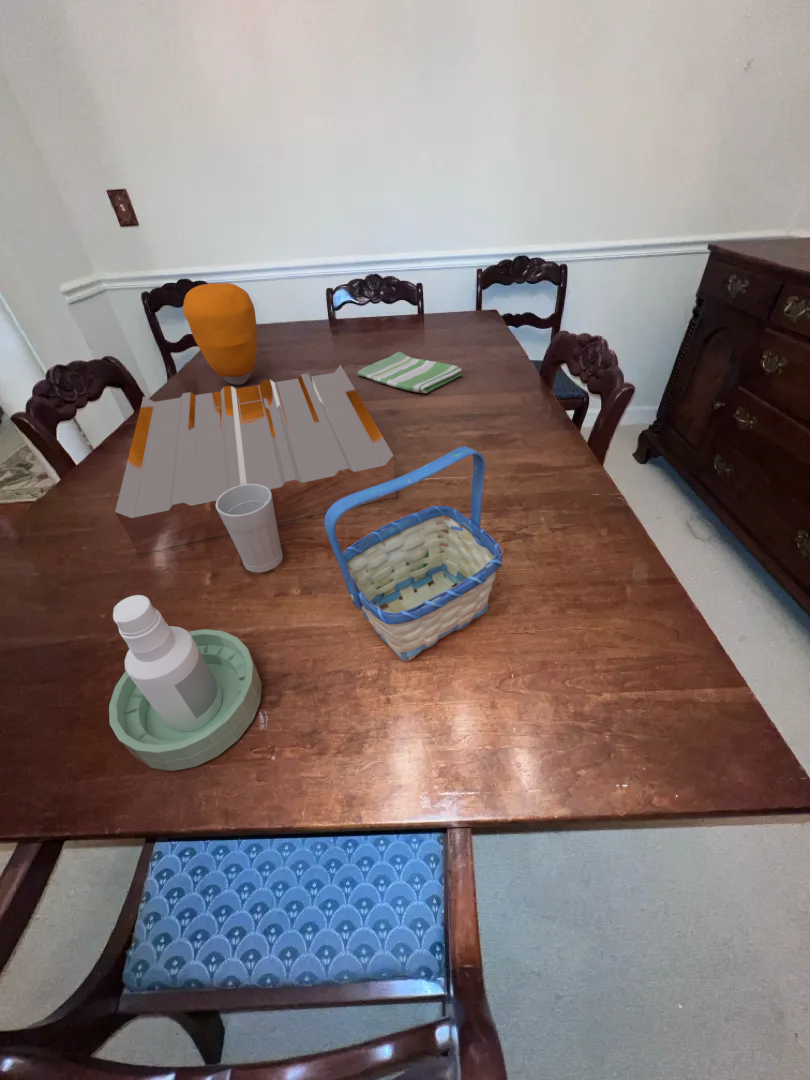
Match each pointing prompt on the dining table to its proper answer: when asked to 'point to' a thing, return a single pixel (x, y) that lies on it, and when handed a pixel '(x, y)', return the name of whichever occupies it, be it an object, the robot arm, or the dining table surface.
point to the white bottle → (167, 666)
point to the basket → (419, 563)
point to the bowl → (192, 748)
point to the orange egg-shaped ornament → (224, 328)
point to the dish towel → (410, 373)
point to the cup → (252, 525)
